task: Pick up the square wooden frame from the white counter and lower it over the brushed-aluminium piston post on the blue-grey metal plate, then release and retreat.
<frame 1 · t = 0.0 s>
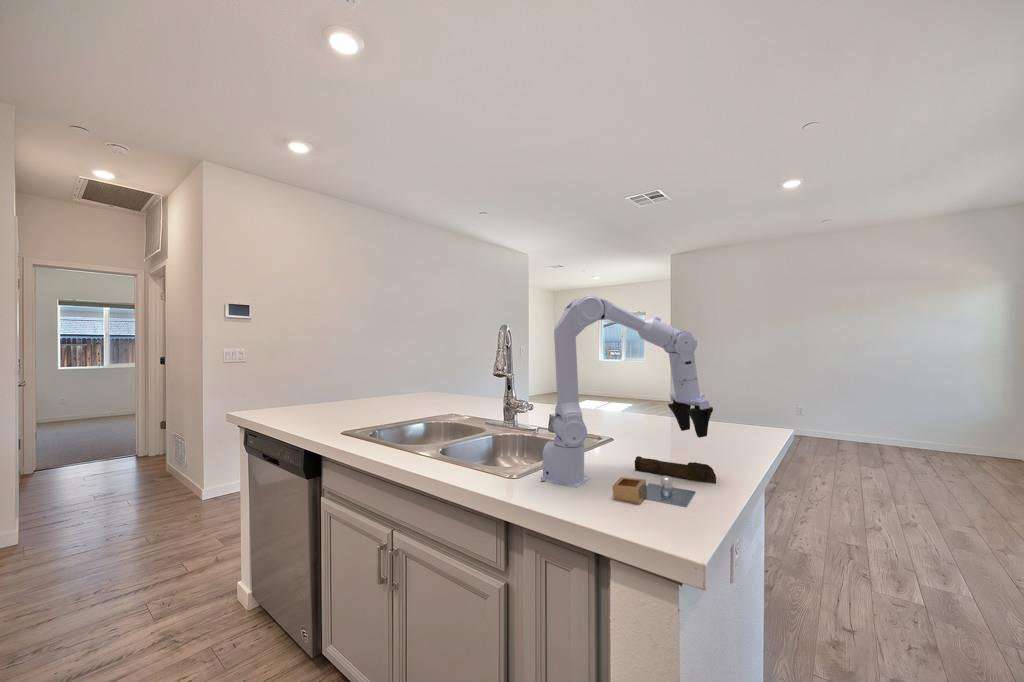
hand: (693, 433, 107), 11 cm above the worktop, tool pointing down, fingers open, 7 cm apart
square wooden frame: (630, 497, 91), on the worktop, tilted 6°, touching piston plate
dark brown long piece: (674, 478, 106), on the worktop
piston plate: (666, 496, 92), on the worktop
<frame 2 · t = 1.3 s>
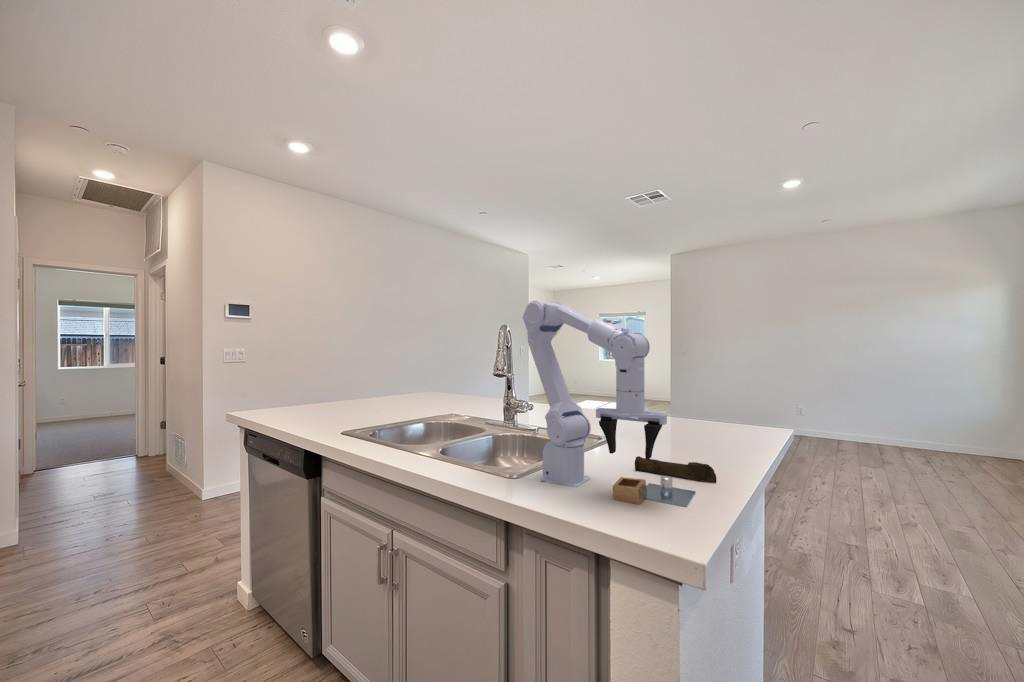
hand: (630, 455, 91), 9 cm above the worktop, tool pointing down, fingers open, 7 cm apart
nothing on the worktop moved.
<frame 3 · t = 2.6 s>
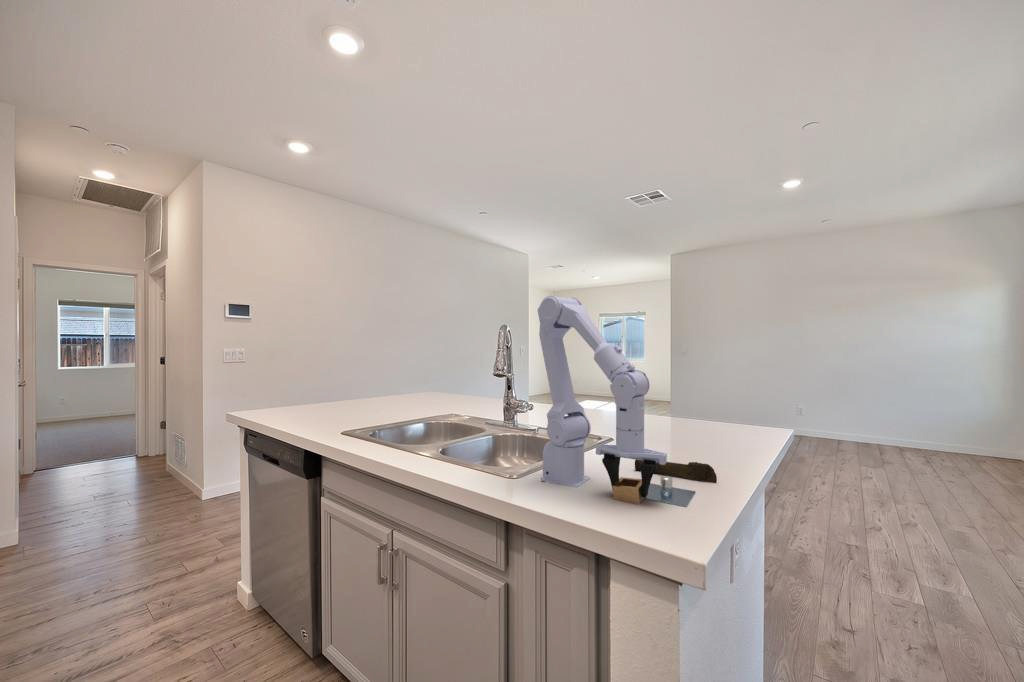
hand: (629, 493, 91), 1 cm above the worktop, tool pointing down, fingers closed on square wooden frame, 5 cm apart
square wooden frame: (630, 497, 91), on the worktop, tilted 6°, touching gripper, piston plate
everything else where it was.
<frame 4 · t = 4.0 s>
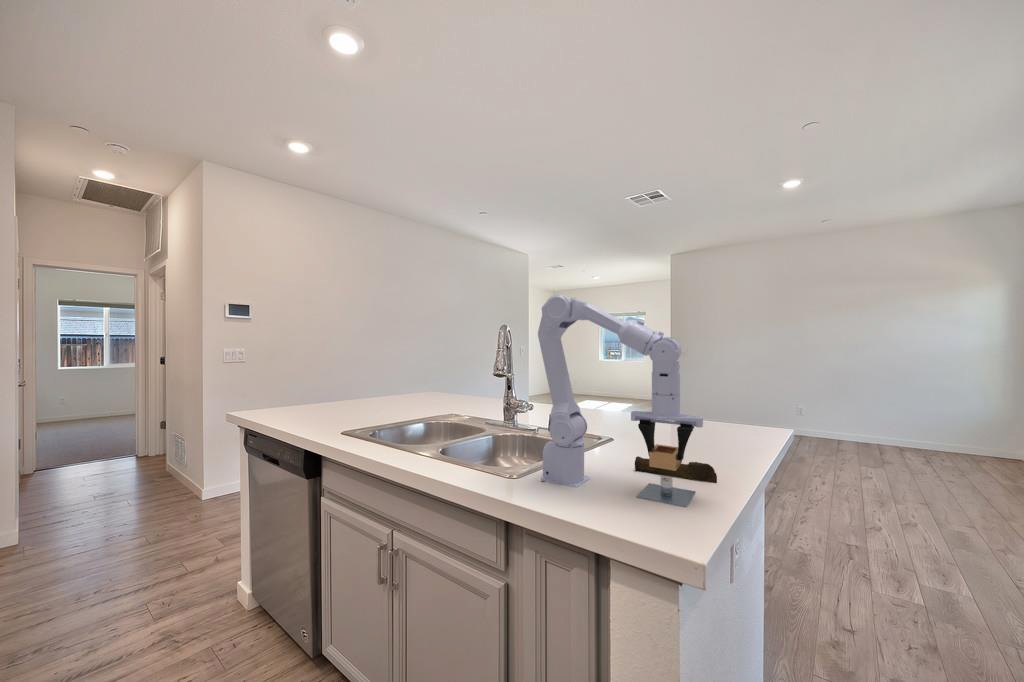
hand: (665, 457, 92), 8 cm above the worktop, tool pointing down, fingers closed on square wooden frame, 5 cm apart
square wooden frame: (665, 464, 92), point 7 cm above the worktop, tilted 6°, touching gripper
everything else where it was.
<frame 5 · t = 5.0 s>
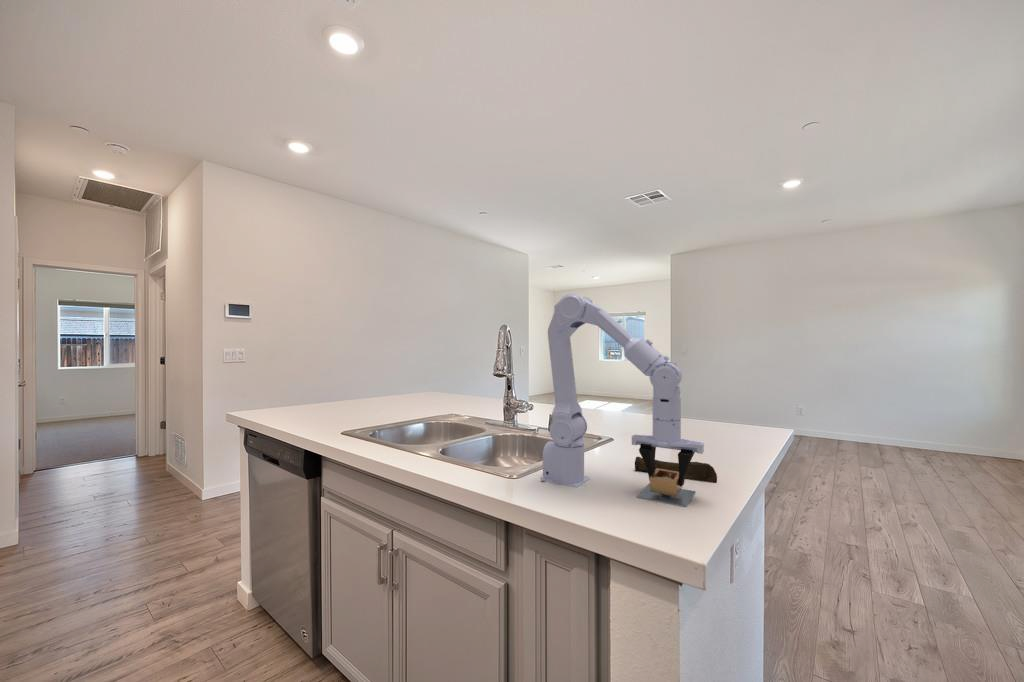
hand: (666, 482, 92), 3 cm above the worktop, tool pointing down, fingers closed on square wooden frame, 5 cm apart
square wooden frame: (666, 489, 92), point 2 cm above the worktop, tilted 6°, touching gripper
everything else where it was.
when the fingers open (3 cm above the worktop, at t = 5.6 s): square wooden frame stays where it is, resting on piston plate.
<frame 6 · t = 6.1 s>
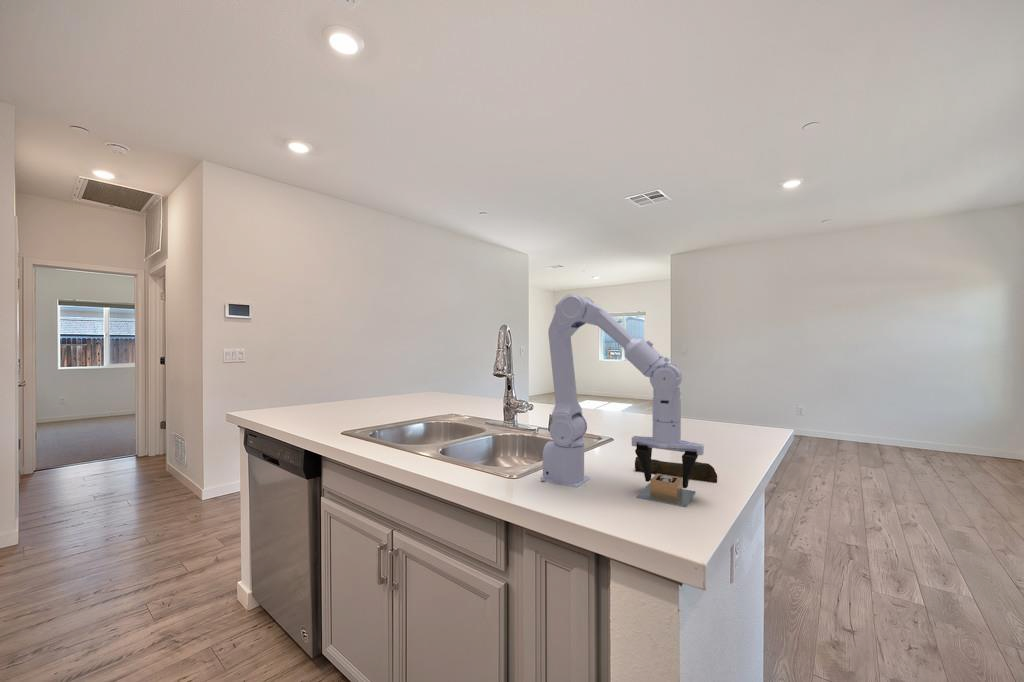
hand: (666, 483, 92), 3 cm above the worktop, tool pointing down, fingers open, 7 cm apart
square wooden frame: (666, 493, 92), point 1 cm above the worktop, touching piston plate
everything else where it was.
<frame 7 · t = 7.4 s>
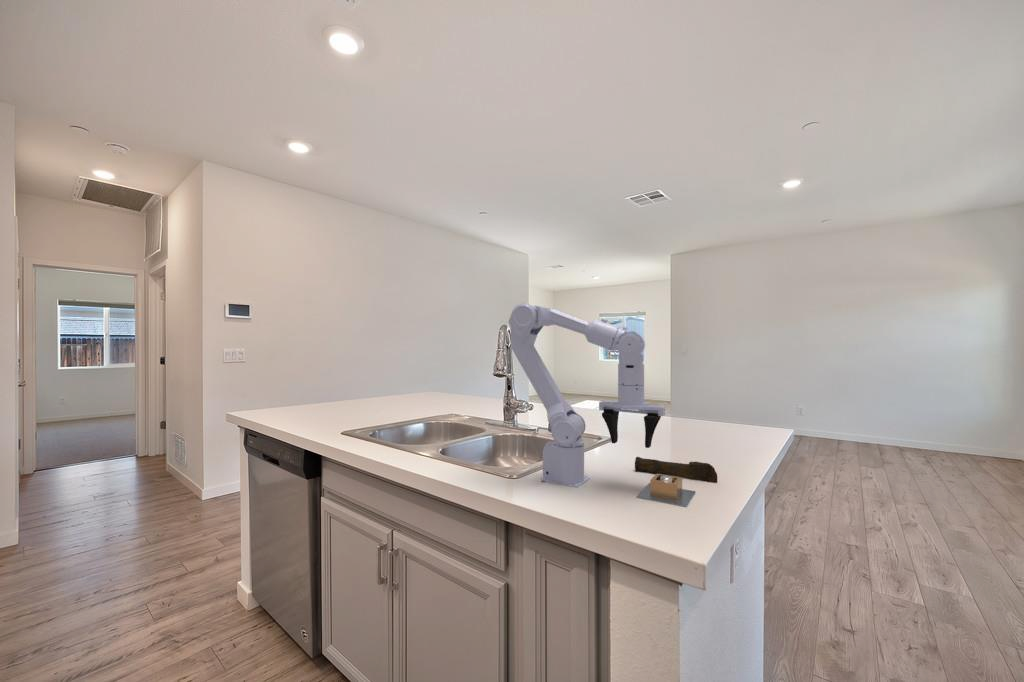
hand: (630, 444, 97), 10 cm above the worktop, tool pointing down, fingers open, 7 cm apart
nothing on the worktop moved.
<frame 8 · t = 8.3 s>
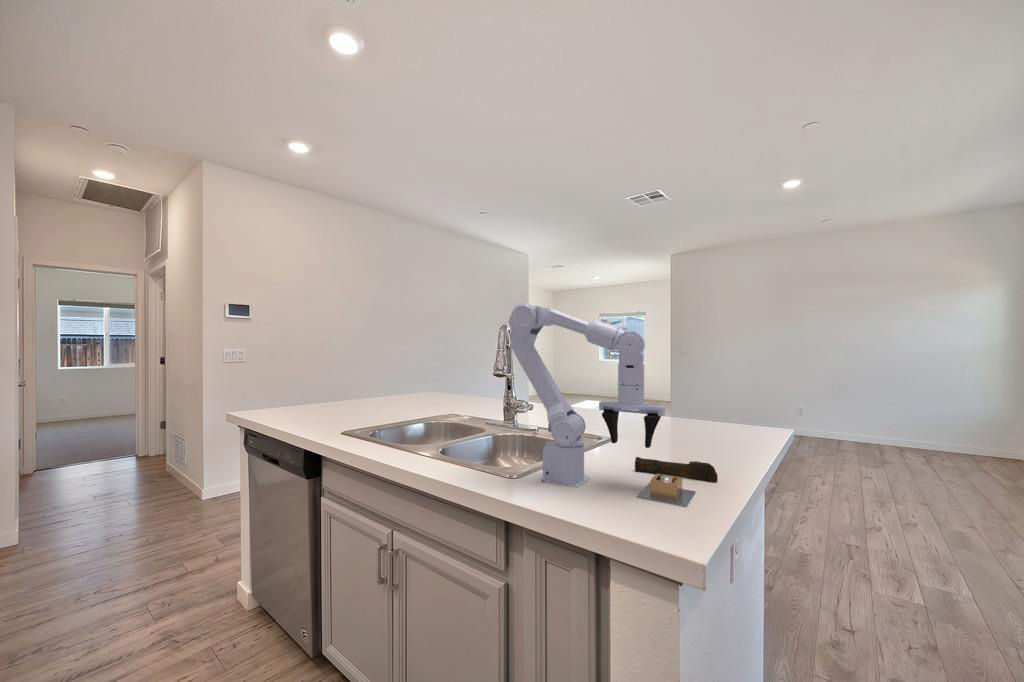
hand: (630, 444, 97), 10 cm above the worktop, tool pointing down, fingers open, 7 cm apart
nothing on the worktop moved.
at the end: square wooden frame 0.0 cm off-centre on the piston plate, point 0.6 cm above the piston plate's base; square wooden frame tilted 0°; the gripper is holding nothing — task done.
